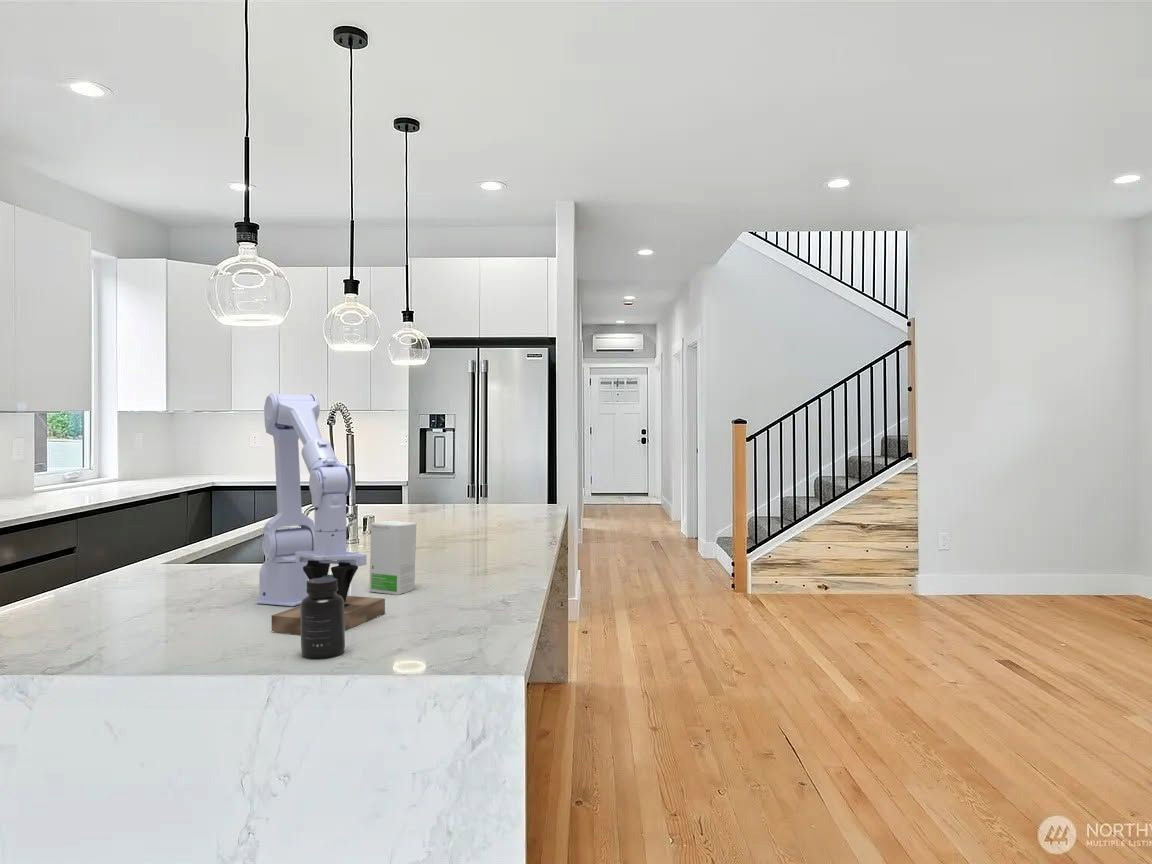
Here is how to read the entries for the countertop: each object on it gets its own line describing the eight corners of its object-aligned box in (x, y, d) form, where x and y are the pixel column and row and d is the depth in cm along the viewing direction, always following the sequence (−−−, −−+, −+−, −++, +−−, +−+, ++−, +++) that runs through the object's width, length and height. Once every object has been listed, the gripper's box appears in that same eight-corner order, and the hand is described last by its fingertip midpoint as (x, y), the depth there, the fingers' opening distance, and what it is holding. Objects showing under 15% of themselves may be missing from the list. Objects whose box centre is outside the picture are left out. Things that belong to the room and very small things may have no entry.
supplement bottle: (307, 647, 126) (306, 576, 126) (348, 646, 127) (348, 575, 127) (295, 660, 119) (295, 584, 119) (339, 659, 120) (339, 583, 120)
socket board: (271, 632, 136) (271, 615, 136) (333, 609, 153) (333, 594, 153) (327, 637, 132) (327, 620, 132) (384, 613, 149) (384, 598, 149)
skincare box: (368, 592, 169) (368, 523, 169) (386, 586, 175) (386, 519, 175) (400, 595, 166) (399, 524, 166) (417, 589, 172) (417, 521, 172)
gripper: (284, 531, 141) (284, 603, 141) (350, 534, 137) (350, 609, 137) (308, 526, 148) (309, 595, 148) (372, 529, 143) (373, 600, 143)
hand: (330, 601), depth 143 cm, fingers closed on peg, 4 cm apart
